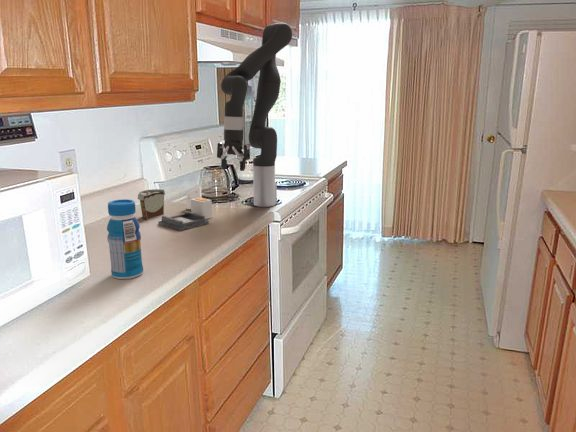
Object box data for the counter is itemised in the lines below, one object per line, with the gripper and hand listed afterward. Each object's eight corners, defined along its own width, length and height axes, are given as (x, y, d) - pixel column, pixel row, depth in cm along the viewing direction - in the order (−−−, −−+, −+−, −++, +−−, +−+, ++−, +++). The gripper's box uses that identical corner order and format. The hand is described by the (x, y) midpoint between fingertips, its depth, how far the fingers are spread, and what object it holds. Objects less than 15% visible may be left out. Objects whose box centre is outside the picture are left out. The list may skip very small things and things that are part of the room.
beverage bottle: (106, 280, 126) (99, 205, 121) (116, 268, 135) (109, 198, 130) (139, 280, 127) (133, 205, 122) (147, 268, 135) (141, 198, 130)
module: (200, 214, 193) (199, 196, 192) (212, 217, 189) (211, 199, 187) (191, 216, 190) (190, 198, 188) (203, 219, 186) (202, 201, 184)
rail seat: (187, 217, 189) (186, 210, 188) (208, 223, 180) (208, 215, 179) (158, 224, 179) (157, 216, 178) (179, 230, 171) (179, 222, 170)
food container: (154, 212, 197) (153, 187, 194) (166, 213, 194) (164, 189, 192) (132, 219, 186) (130, 193, 184) (144, 221, 184) (142, 195, 181)
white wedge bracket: (210, 204, 200) (199, 186, 198) (191, 215, 202) (179, 197, 200) (213, 202, 203) (202, 184, 202) (193, 213, 205) (182, 195, 204)
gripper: (254, 129, 190) (253, 170, 193) (224, 127, 197) (224, 167, 200) (243, 129, 184) (242, 172, 187) (213, 128, 190) (213, 169, 194)
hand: (233, 169), depth 193 cm, fingers open, 8 cm apart
